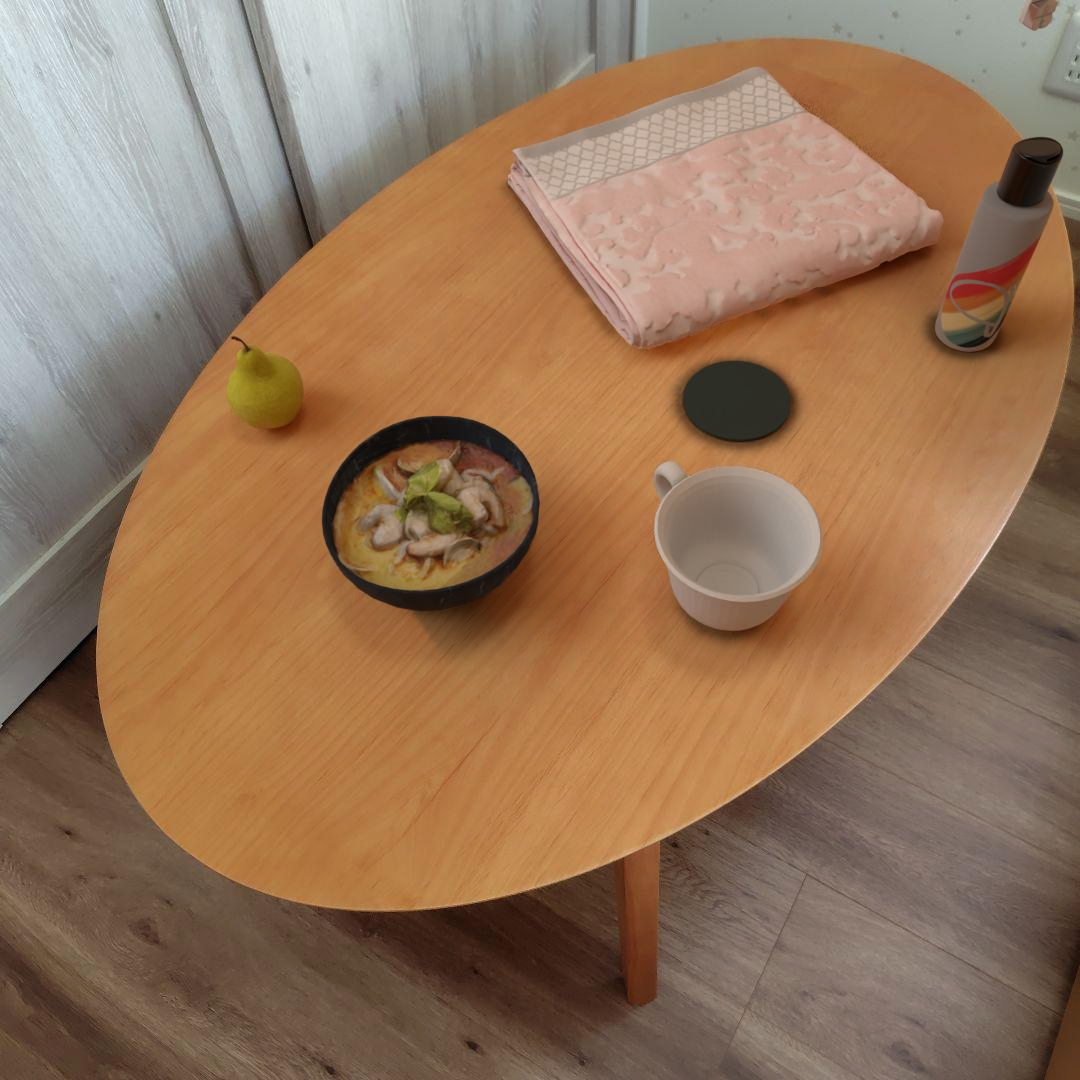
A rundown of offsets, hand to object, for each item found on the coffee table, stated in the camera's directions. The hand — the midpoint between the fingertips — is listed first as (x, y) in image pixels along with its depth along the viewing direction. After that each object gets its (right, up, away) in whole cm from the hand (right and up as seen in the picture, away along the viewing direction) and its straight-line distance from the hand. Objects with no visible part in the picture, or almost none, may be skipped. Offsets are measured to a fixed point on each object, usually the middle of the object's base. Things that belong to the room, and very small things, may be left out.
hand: (1076, 54), depth 69 cm
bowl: (-47, -38, +11) cm, 62 cm away
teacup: (-25, -40, +8) cm, 48 cm away
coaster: (-21, -23, +19) cm, 36 cm away
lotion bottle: (+2, -16, +23) cm, 28 cm away
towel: (-21, 0, +35) cm, 41 cm away
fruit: (-65, -24, +22) cm, 72 cm away
